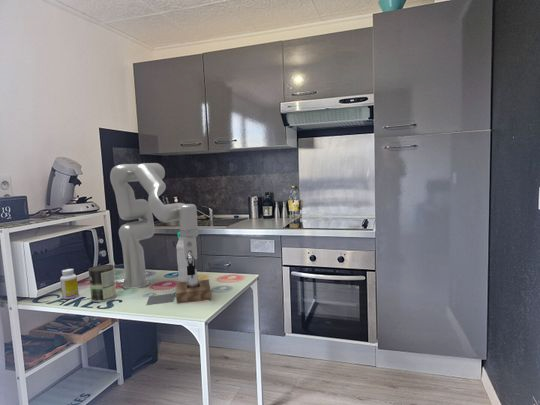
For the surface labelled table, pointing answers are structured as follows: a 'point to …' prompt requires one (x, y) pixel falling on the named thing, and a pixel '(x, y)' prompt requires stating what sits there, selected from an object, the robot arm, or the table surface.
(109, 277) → the coffee can
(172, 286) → the table surface
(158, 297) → the rubber mat
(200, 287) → the brown peg hole board
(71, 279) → the supplement bottle
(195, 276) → the steel peg
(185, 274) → the water bottle
